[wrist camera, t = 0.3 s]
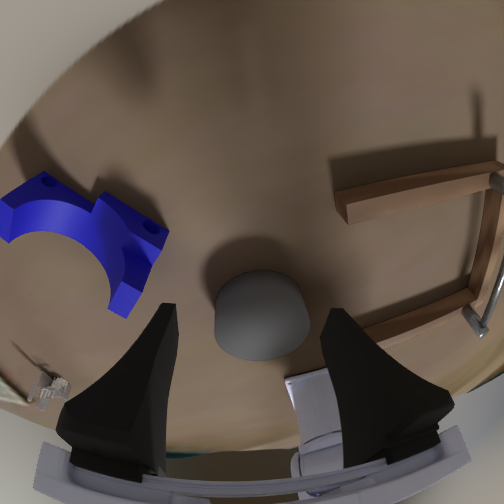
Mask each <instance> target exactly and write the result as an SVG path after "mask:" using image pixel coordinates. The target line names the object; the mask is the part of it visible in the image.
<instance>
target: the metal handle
mask: <svg viewBox="0 0 504 504" xmlns="http://www.w3.org/2000/svg"><path fill="white" fill-rule="evenodd" d="M489 186H490V187H491V188H492V189H494V190H496V191H497V192H499V193H501V194H502V195H504V176H502V175H500V174H498V173H496V172H493V173H492V174H491V175H490V178H489ZM503 284H504V256H503V260H502V263H501V266H500V270H499V273H498V276H497V279H496V282H495V285H494V288H493V291H492V294H491V296H490V299H489V302H488V304H487V307H486V309H485V312H484V314H483V316H482V319H481V318H480V317H479V315H478V314H477V313H476V312H475V310H474V309H473V308H472V306H471V305H470V304H467V305H466V306H465V307H464V308H463V309H462V311H461V314H462V315H463V317H464V318H465V319H466V321H467V322H468V323H469V325H470V326H471V327H472V329H473V330H474V332H475V333H476V335H477V336H478V337H479V339H481V338H483V337H484V336H485V335H486V334H487V333H488V331H489V329H488V327H487V326H486V325H487V323H488V321H489V319H490V317H491V314H492V312H493V310H494V307H495V305H496V302H497V300H498V297H499V295H500V292H501V289H502V287H503Z"/></svg>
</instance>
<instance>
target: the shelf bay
mask: <svg viewBox="0 0 504 504" xmlns="http://www.w3.org/2000/svg"><path fill="white" fill-rule="evenodd" d="M493 172H496V173H498V174H500V175H502V176H504V164H503V163H501V162H499V161H496V160H495V161H488V162H482V163H475V164H469V165H464V166H458V167H452V168H446V169H441V170H436V171H430V172H425V173H420V174H415V175H410V176H405V177H400V178H395V179H390V180H385V181H381V182H376V183H371V184H367V185H362V186H358V187H353V188H349V189H344V190H340V191H336V192H334V195H335V202H336V210H337V212H338V213H339V214H340V216H341V217H342V218H343V219H344V220H345V222H346V223H347V224H348V225H351V224H355V223H359V222H363V221H366V220H370V219H374V218H378V217H382V216H386V215H390V214H393V213H397V212H401V211H405V210H409V209H413V208H417V207H421V206H424V205H428V204H432V203H436V202H440V201H444V200H448V199H452V198H455V197H459V196H463V195H467V194H471V193H475V192H479V191H483V190H486V196H485V205H484V212H483V219H482V225H481V231H480V237H479V242H478V247H477V251H476V256H475V260H474V264H473V268H472V272H471V276H470V280H469V283H468V287H467V288H465V289H462V290H460V291H458V292H456V293H454V294H452V295H449V296H447V297H445V298H443V299H440V300H438V301H436V302H433V303H431V304H428V305H426V306H424V307H421V308H419V309H416V310H414V311H411V312H408V313H406V314H403V315H401V316H398V317H395V318H392V319H390V320H387V321H384V322H381V323H378V324H375V325H373V326H370V327H367V328H364V329H363V330H364V331H365V332H366V333H367V335H368V336H369V337H370V338H371V339H372V340H373V341H374V342H375V343H376V344H377V345H379V346H380V347H381V348H382V349H384V348H386V347H389V346H392V345H394V344H397V343H400V342H402V341H405V340H407V339H410V338H412V337H414V336H417V335H419V334H422V333H424V332H426V331H428V330H431V329H433V328H435V327H437V326H439V325H442V324H444V323H446V322H448V321H450V320H452V319H454V318H456V317H458V316H460V315H462V314H461V311H462V309H463V308H464V307H465V306H466V305H467V304H470V305H471V306H472V308H473V309H474V308H476V307H477V306H479V305H481V304H482V303H483V300H484V297H485V295H486V292H487V289H488V286H489V283H490V280H491V277H492V273H493V270H494V267H495V263H496V260H497V256H498V252H499V248H500V244H501V240H502V235H503V231H504V195H502V194H501V193H499V192H497V191H496V190H494V189H492V188H491V187H490V186H489V178H490V175H491V174H492V173H493Z"/></svg>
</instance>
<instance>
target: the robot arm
mask: <svg viewBox="0 0 504 504" xmlns="http://www.w3.org/2000/svg"><path fill="white" fill-rule="evenodd" d="M178 337H179V332H178V322H177V312H176V304H172V303H162V304H160V306H159V308H158V310H157V311H156V313H155V314H154V316H153V318H152V319H151V321H150V322H149V324H148V325H147V326H146V328H145V329H144V331H143V332H142V333H141V335H140V336H139V337H138V339H137V340H136V341H135V342H134V344H133V345H132V346H131V347H130V349H129V350H128V351H127V352H126V353H125V355H124V356H123V357H122V358H121V359H120V360H119V361H118V362H117V363H116V364H115V365H114V366H113V367H112V368H111V369H110V370H109V371H108V372H107V373H106V374H104V375H103V376H102V377H101V378H100V379H99V380H97V381H96V382H95V383H94V384H92V385H91V386H90V387H88V388H87V389H86V390H84V391H83V392H82V393H80V394H78V395H77V396H75V397H74V398H72V399H71V400H69V401H67V402H66V403H65V404H64V406H63V408H62V410H61V413H60V416H59V419H58V423H57V426H56V432H57V434H58V435H59V436H60V437H61V438H62V439H63V440H65V441H66V442H67V443H68V444H69V445H71V446H72V451H71V452H69V451H67V450H64V449H62V448H59V447H56V446H54V445H51V444H49V443H46V442H43V443H42V446H41V450H40V454H39V459H38V463H37V468H36V473H35V478H34V484H33V488H34V489H35V490H37V491H38V492H40V493H43V494H45V495H47V496H49V497H51V498H54V499H56V500H58V501H60V502H63V503H65V504H211V503H210V500H208V499H202V498H194V497H187V496H178V495H188V496H201V497H255V496H271V495H280V494H290V493H297V492H298V495H299V499H300V501H294V502H285V503H277V504H394V503H397V502H399V501H401V500H403V499H405V498H408V497H410V496H412V495H414V494H416V493H418V492H420V491H422V490H424V489H426V488H428V487H430V486H431V485H433V484H435V483H437V482H439V481H440V480H442V479H444V478H446V477H447V476H449V475H451V474H452V473H454V472H456V471H457V470H459V469H460V468H462V467H463V466H465V465H467V464H468V463H470V462H471V457H470V455H469V452H468V450H467V447H466V444H465V442H464V440H463V437H462V435H461V432H460V430H459V428H458V426H457V425H456V426H454V427H452V428H450V429H448V430H445V431H444V432H442V433H440V434H438V433H437V431H436V430H438V429H439V425H438V422H439V421H440V420H441V419H442V418H444V417H445V416H446V415H447V414H448V413H449V412H450V411H451V410H452V409H453V408H454V405H455V404H454V401H453V399H452V397H451V395H450V393H449V391H448V390H445V389H443V388H441V387H438V386H436V385H434V384H432V383H430V382H428V381H426V380H424V379H422V378H421V377H419V376H417V375H416V374H414V373H413V372H411V371H410V370H408V369H407V368H405V367H404V366H402V365H401V364H400V363H398V362H397V361H396V360H395V359H393V358H392V357H391V356H390V355H388V354H387V353H386V352H385V351H384V350H383V349H382V348H381V347H380V346H379V345H377V344H376V343H375V342H374V341H373V340H372V339H371V338H370V337H369V336H368V335H367V333H366V332H365V331H364V330H363V329H362V328H361V327H360V326H359V325H358V324H357V323H356V322H355V321H354V320H353V319H352V318H351V316H350V315H349V314H348V313H347V312H346V311H345V310H344V309H343V308H331V310H330V313H329V315H328V318H327V321H326V323H325V326H324V328H323V331H322V333H321V336H320V340H321V346H322V352H323V356H324V360H325V363H326V366H327V368H324V369H321V370H317V371H313V372H309V373H306V374H302V375H298V376H293V377H289V378H286V379H285V384H286V387H287V389H288V392H289V395H290V398H291V401H292V404H293V406H294V408H295V412H296V417H297V422H298V428H299V433H300V439H301V444H302V445H300V446H298V447H299V452H297V453H295V455H294V457H293V458H292V460H291V473H292V478H287V479H277V480H265V481H241V482H219V481H197V480H184V479H173V478H166V477H164V476H165V475H166V420H167V405H168V396H169V390H170V385H171V380H172V375H173V371H174V366H175V361H176V356H177V348H178ZM337 488H338V489H337ZM333 489H336V490H334V491H332V492H329V493H326V495H320V494H317V493H322V492H325V491H330V490H333ZM173 494H177V495H173Z"/></svg>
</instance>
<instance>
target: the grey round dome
mask: <svg viewBox="0 0 504 504" xmlns="http://www.w3.org/2000/svg"><path fill="white" fill-rule="evenodd" d="M309 331H310V318H309V315H308V312H307V309H306V306H305V303H304V299H303V296H302V293H301V291H300V289H299V287H298V285H297V284H296V283H295V282H294V281H293V280H292V279H290V278H289V277H287V276H285V275H283V274H281V273H278V272H274V271H266V270H260V271H252V272H247V273H244V274H241V275H239V276H236V277H235V278H233V279H231V280H230V281H229V282H227V283H226V284H225V285H224V286H223V287H222V289H221V290H220V291H219V293H218V295H217V298H216V303H215V328H214V333H215V339H216V341H217V343H218V345H219V346H220V347H221V348H222V349H223V350H224V351H225V352H227V353H228V354H230V355H232V356H234V357H237V358H240V359H244V360H250V361H264V360H271V359H275V358H279V357H282V356H284V355H286V354H289V353H290V352H292V351H294V350H295V349H296V348H298V347H299V346H300V345H301V344H302V343H303V342H304V341H305V339H306V338H307V336H308V334H309Z"/></svg>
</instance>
